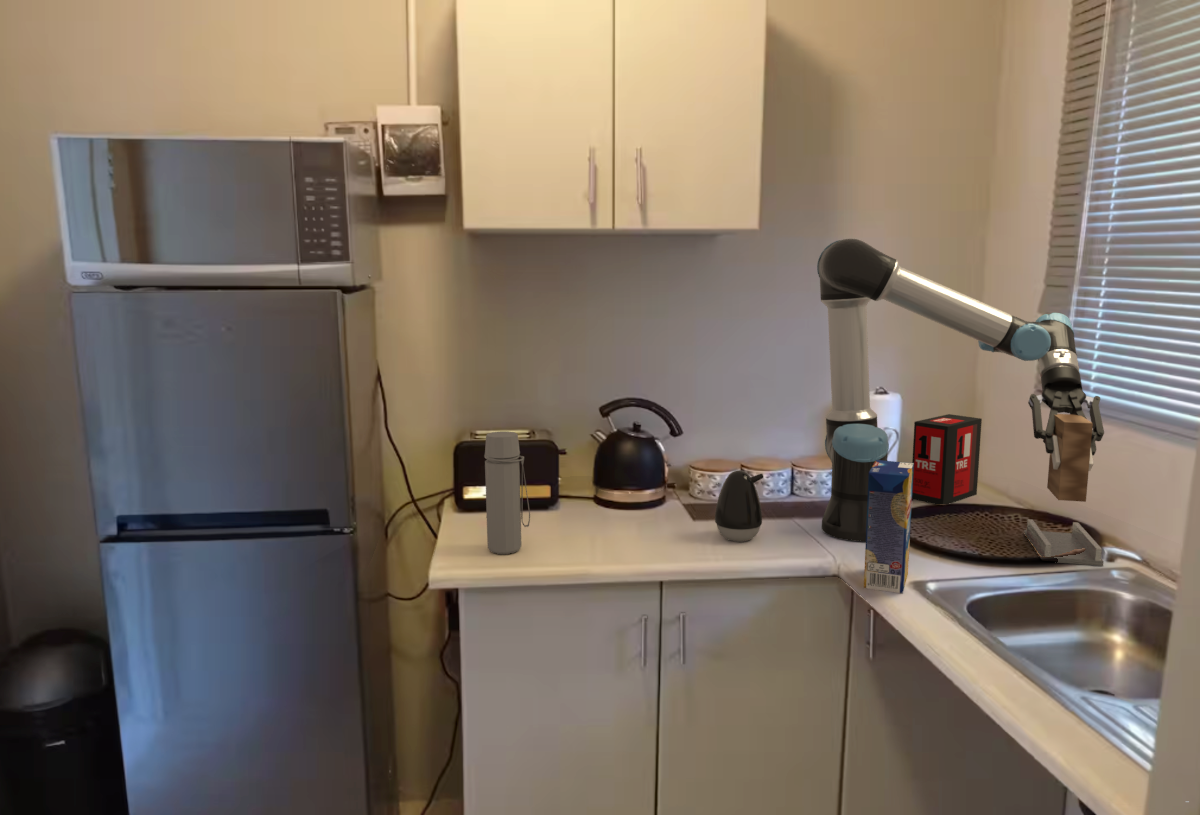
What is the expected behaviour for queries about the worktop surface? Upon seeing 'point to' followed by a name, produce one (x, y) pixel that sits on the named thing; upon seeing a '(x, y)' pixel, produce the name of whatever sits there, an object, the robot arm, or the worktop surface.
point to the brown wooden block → (1071, 458)
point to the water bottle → (503, 492)
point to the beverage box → (888, 525)
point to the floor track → (1065, 544)
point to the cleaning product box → (946, 458)
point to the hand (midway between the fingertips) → (1073, 466)
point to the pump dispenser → (739, 507)
